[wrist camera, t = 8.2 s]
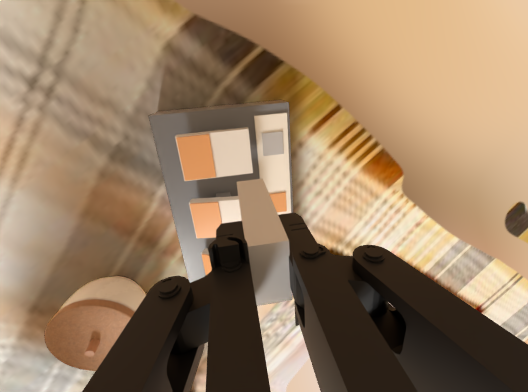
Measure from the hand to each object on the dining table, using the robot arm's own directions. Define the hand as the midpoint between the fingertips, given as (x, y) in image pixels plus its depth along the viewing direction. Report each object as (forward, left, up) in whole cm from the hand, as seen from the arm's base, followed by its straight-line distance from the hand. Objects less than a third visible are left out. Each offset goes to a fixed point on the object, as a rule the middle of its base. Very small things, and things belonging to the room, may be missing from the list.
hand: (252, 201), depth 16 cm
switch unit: (-7, +1, -18) cm, 20 cm away
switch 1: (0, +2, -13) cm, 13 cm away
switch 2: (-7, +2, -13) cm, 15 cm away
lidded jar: (-20, +19, -18) cm, 33 cm away
